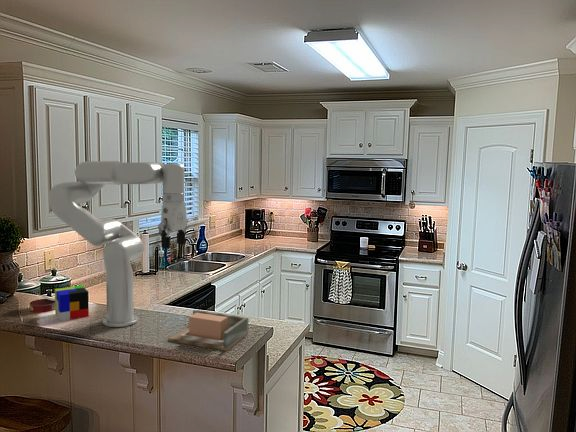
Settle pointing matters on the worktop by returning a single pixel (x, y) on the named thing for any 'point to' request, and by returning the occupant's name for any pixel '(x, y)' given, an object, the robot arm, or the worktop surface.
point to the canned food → (42, 305)
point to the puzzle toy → (71, 303)
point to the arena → (234, 334)
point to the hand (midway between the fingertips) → (173, 245)
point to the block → (207, 326)
